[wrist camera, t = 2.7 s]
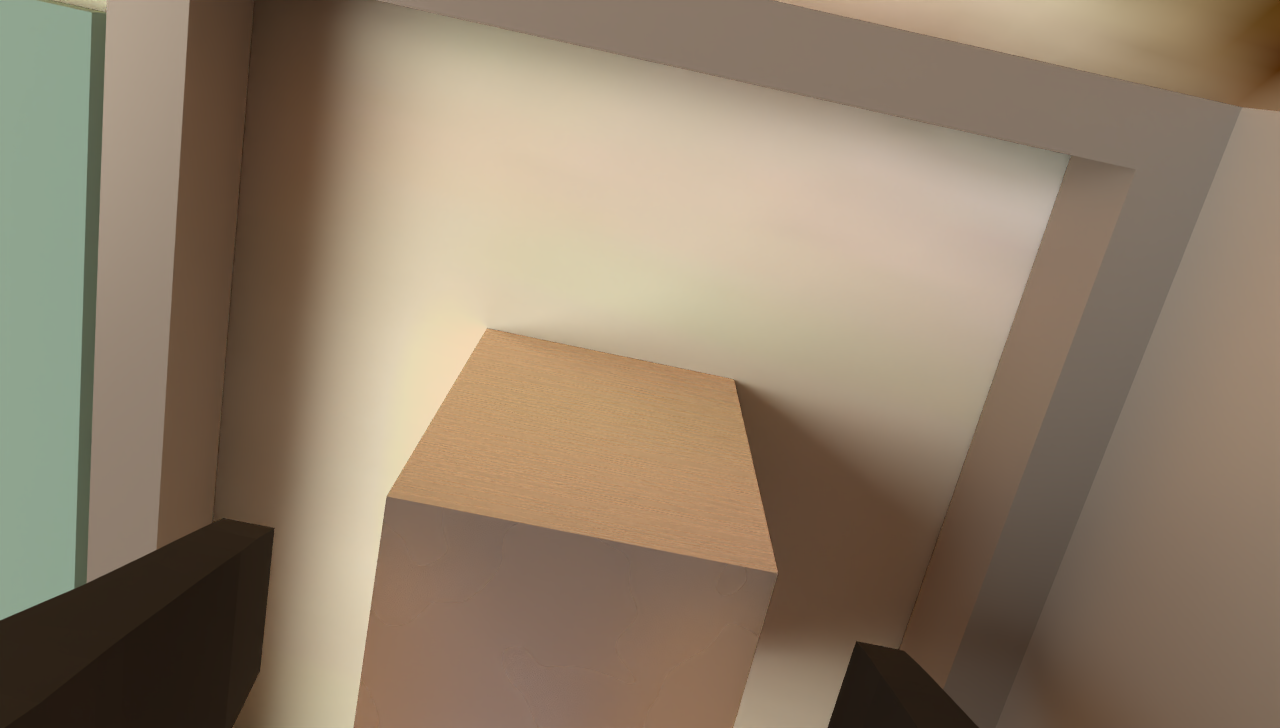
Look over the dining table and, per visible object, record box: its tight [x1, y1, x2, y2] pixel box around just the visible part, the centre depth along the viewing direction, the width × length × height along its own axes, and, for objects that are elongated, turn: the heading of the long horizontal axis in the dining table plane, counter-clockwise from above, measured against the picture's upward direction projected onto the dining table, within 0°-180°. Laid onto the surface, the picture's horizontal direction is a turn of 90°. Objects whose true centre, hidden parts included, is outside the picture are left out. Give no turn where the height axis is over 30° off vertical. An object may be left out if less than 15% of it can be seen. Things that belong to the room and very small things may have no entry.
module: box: [354, 328, 778, 728], centre depth 13 cm, size 5×4×6 cm
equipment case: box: [87, 0, 1280, 728], centre depth 12 cm, size 16×15×9 cm
